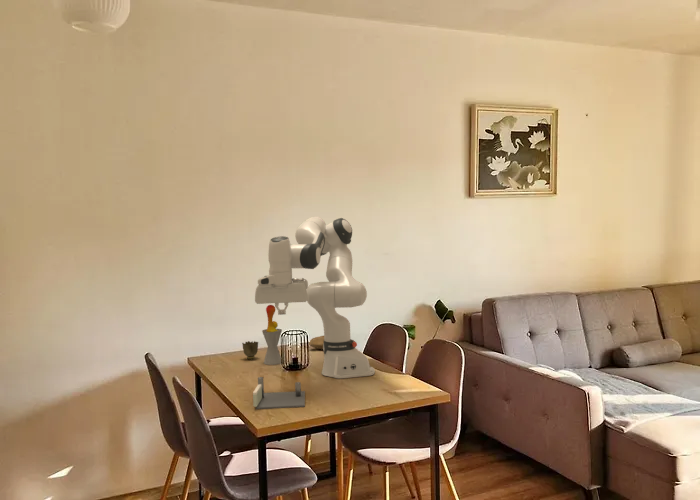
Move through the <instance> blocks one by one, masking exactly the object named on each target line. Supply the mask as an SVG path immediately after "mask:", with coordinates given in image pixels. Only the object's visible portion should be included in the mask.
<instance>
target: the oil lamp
mask: <svg viewBox="0 0 700 500" xmlns="http://www.w3.org/2000/svg"><path fill="white" fill-rule="evenodd" d="M323 343H324V335H320V336H315V337H312V338H311V339H310V340H309V342H308V345H309V346H310V347H312V348H314V349H319V350H321V349H323Z"/></svg>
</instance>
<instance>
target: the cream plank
mask: <svg viewBox="0 0 700 500" xmlns="http://www.w3.org/2000/svg"><path fill="white" fill-rule="evenodd" d="M261 399H262V384H258V383H257V386H256V387H255V389H254V390H253V392H252V400H253V401H252V402H253V404H252V405H253V407H255V408H256V407H257V406H258V404H259V402H260V400H261Z"/></svg>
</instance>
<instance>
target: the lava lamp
mask: <svg viewBox="0 0 700 500" xmlns="http://www.w3.org/2000/svg"><path fill="white" fill-rule="evenodd" d="M265 312H266V316H267V328H266V329H262V330H261V332H262V335H263V338H264V341H265V343H266V345H267V348H266V353H265V357H264V361H263V364H264V365H268V366H269V365H273V366H274V365H275V366H276V365H280V364H282V363H281V359H282V356H281V353H280V351H279V347H278V345H279V341H280V338H281V334H282V331H283V330H282V329H281V328H278V326H279V325H278V324H279V323H278V321H276V320H273V318H274V315H275V313H276V307H275V305H273V304H269V305H267V306H266V308H265Z"/></svg>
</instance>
